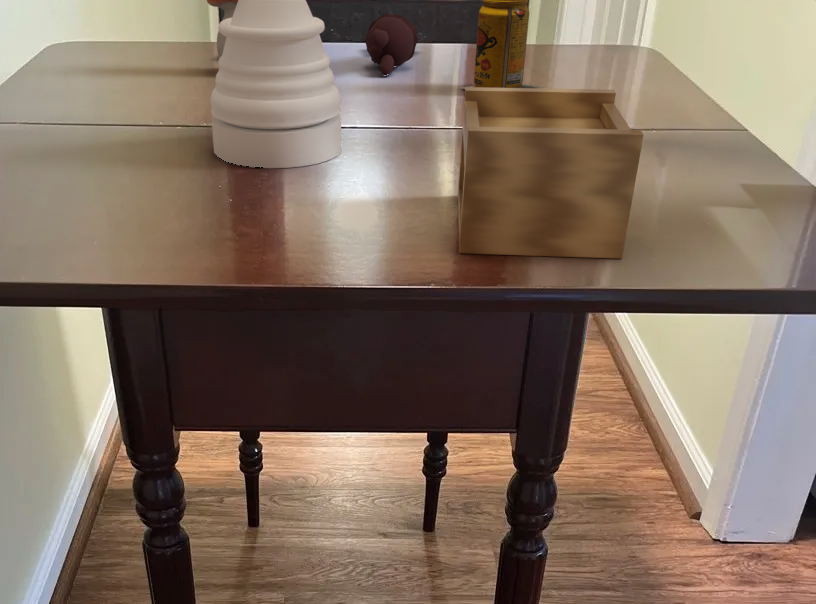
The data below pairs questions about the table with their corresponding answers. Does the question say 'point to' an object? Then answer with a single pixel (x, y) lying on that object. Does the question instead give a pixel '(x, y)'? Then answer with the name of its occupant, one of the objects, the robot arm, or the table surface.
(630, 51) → the table surface
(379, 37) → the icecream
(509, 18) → the yellow drink can
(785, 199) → the table surface
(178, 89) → the table surface
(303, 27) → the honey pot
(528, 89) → the wooden box
